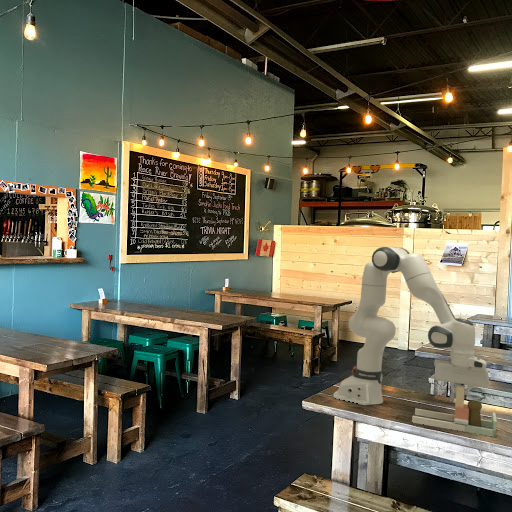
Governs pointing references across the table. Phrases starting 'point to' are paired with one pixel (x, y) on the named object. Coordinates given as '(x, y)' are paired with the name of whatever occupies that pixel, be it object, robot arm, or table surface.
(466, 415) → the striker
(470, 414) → the olive rounded upright piece
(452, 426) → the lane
